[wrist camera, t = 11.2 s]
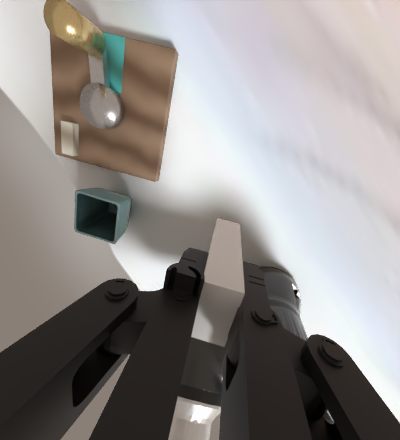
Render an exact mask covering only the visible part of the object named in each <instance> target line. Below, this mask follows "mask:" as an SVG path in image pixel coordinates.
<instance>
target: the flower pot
mask: <svg viewBox="0 0 400 440" xmlns="http://www.w3.org/2000/svg"><path fill="white" fill-rule="evenodd" d="M112 203H113V204H112ZM130 207H131V198H130V197H128V196H125V195H122V194H118V193H115V192H112V191H109V190H106V189H101V188H90V189H83V190H76V192H75V225H74V228H75V231H76V232H78V233H81V234H84V235H88V236H91V237H94V238H98V239H100V240H104V241H107V242H110V243H113V244H115V243H116V242H117V241H118V239H119V238H120V237H121V236H122V235H123V233H124V232H125V230H126V228H127V226H128V221H129V214H130Z"/></svg>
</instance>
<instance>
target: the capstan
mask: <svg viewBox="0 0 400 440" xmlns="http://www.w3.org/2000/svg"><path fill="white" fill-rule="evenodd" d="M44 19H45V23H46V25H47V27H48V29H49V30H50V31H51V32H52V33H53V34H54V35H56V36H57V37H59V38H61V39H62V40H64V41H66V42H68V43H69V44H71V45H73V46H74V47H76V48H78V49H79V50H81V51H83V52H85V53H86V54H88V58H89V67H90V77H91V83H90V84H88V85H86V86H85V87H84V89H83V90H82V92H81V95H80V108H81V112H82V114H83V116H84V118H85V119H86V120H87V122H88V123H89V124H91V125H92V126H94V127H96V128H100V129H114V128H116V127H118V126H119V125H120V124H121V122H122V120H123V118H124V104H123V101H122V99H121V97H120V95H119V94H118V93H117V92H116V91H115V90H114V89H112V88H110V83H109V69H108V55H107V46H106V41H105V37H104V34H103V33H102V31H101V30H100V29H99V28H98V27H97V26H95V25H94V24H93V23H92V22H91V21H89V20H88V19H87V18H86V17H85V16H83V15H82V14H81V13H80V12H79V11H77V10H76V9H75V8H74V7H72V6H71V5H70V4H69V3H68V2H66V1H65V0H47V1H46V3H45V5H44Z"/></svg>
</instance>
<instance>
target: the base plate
mask: <svg viewBox="0 0 400 440" xmlns="http://www.w3.org/2000/svg"><path fill="white" fill-rule="evenodd" d="M102 33H103V34H104V37H105V41H106V46H107V55H108V69H109V83H110V88H112V89H114V90H115V91H116V92H117V93H118V94H119V95H120V97H121V99H122V101H123V104H124V118H123V120H122V122H121V124H120V125H119V126H118V127H116V128H114V129H100V128H96V127H94V126H92V125H91V124H89V123H88V122H87V120H86V119H85V118H84V116H83V114H82V112H81V108H80V95H81V92H82V90H83V89H84V87H85V86H86V85H88V84H90V83H91V77H90V67H89V58H88V54H86V53H85V52H83V51H81V50H79V49H78V48H76V47H74V46H73V45H71V44H69V43H68V42H66V41H64V40H62V39H61V38H59V37H57V36H56V35H54V34H53V33H52V32H51V31H50V42H51V64H52V86H53V107H54V129H55V150H56V154H57V155H60V156H64V157H68V158H71V159H75V160H78V161H82V162H86V163H89V164H93V165H96V166H100V167H104V168H107V169H111V170H115V171H118V172H122V173H125V174H129V175H133V176H136V177H140V178H144V179H147V180H151V181H154V182H156V181H158V180H159V175H160V169H161V162H162V156H163V149H164V143H165V136H166V130H167V123H168V117H169V111H170V104H171V98H172V91H173V85H174V78H175V72H176V65H177V59H178V53H177V51H176V50H175V49H172V48H168V47H163V46H159V45H155V44H151V43H146V42H142V41H138V40H133V39H129V38H125V37H121V36H117V35H113V34H109V33H104V32H102Z"/></svg>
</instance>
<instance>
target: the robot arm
mask: <svg viewBox="0 0 400 440" xmlns="http://www.w3.org/2000/svg"><path fill="white" fill-rule="evenodd" d="M300 303H301V297H300V292H299V290H298V287H297V285H296V283H295V281H294V280H293V278H292V277H291V276H289V275H288V274H287V273H285V272H284V271H282V270H279V269H276V268H272V267H258V266H257V265H254V264H250V263H247V262H243V259H242V245H241V230H240V224H239V223H235V222H231V221H227V220H223V219H219V218H217V221H216V225H215V229H214V232H213V236H212V240H211V244H210V247H209V251H208V252H204V251H200V250H197V249H193V248H189V249H187V250H186V251H184V253H183V255H182V257H181V259H180V261H179V263H175V264H173V265H170V266H169V267H168V269H167V271H166V276H165V282H164V287H163V289H160V290H157V291H138V288H137V286H136V284H134V283H133V282H132V281H130V280H126V279H112V280H108V281H106V282H104V283H102V284H100V285H99V286H97V287H96V288H94V289H93V290H92V291H90V292H89V293H87V294H86V295H84V296H83V297H82V298H80V299H78V300H77V301H76V302H74V303H72V304H71V305H70V306H68V307H67V308H65V309H64V310H62V311H61V312H59V313H58V314H56V315H55V316H53V317H52V318H51V319H49V320H48V321H46V322H45V323H43V324H42V325H40V326H39V327H37V328H36V329H35V330H33V331H31V332H30V333H28V334H27V335H26V336H24V337H23V338H21V339H20V340H18V341H17V342H15V343H14V344H12V345H11V346H9V347H8V348H6V349H5V350H4V351H2V352H1V353H0V440H60V439H61V438H62V437H63V436H64V434H65V433H66V432H67V431H68V429H69V428H70V427H71V426H72V424H73V423H74V422H75V421H76V419H77V418H78V417H79V416H80V414H81V413H82V412H83V411H84V409H85V408H86V407H87V406H88V404H89V403H90V402H91V401H92V399H93V398H94V397H95V396H96V395H97V393H98V392H99V391H100V389H101V388H102V387H103V386H104V384H105V383H106V382H107V381H108V380H109V378H110V377H111V375H112V374H113V373H114V372H115V371H116V370H117V368H118V367H119V366H120V365H121V363H122V362H123V361H124V359H125V358H126V357H127V356H128V354H131V355H130V357H129V359H128V361H127V363H126V365H125V367H124V369H123V372H122V373H121V376H120V377H119V379H118V381H117V384H116V385H115V387H114V390H113V392H112V394H111V396H110V398H109V400H108V402H107V404H106V406H105V408H104V410H103V412H102V414H101V416H100V418H99V420H98V422H97V424H96V426H95V428H94V430H93V432H92V434H91V437H90V438H89V440H209V437H210V430H211V423H212V421H213V419H214V418H215V417H216V416H217V415H218V414H220V413H221V416H220V434H219V440H400V423H399V422H398V420H397V419H396V418H395V416H394V415H393V414H392V412H391V411H390V410H389V408H388V407H387V405H386V404H385V403H384V401H383V400H382V399H381V397H380V396H379V395H378V393H377V392H376V391H375V389H374V388H373V387H372V385H371V384H370V383H369V381H368V380H367V379H366V377H365V376H364V375H363V373H362V372H361V371H360V369H359V368H358V366H357V365H356V364H355V362H354V361H353V360H352V358H351V357H350V356H349V355H348V354H347V352H346V351H345V350H344V349H343V348H342V347H341V346H339V345H338V344H337V343H336V342H334V341H333V340H331V339H329V338H327V337H325V336H322V335H318V334H316V335H311V336H310V337H309V338H307V335H306V332H305V330H304V327H303V324H302V322H301V319H300ZM327 410H328V411H329V413H330V415H331V417H332V418H333V420H334V422H333V421H332V420H331V418H330V416H329V415H328V413H327Z"/></svg>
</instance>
